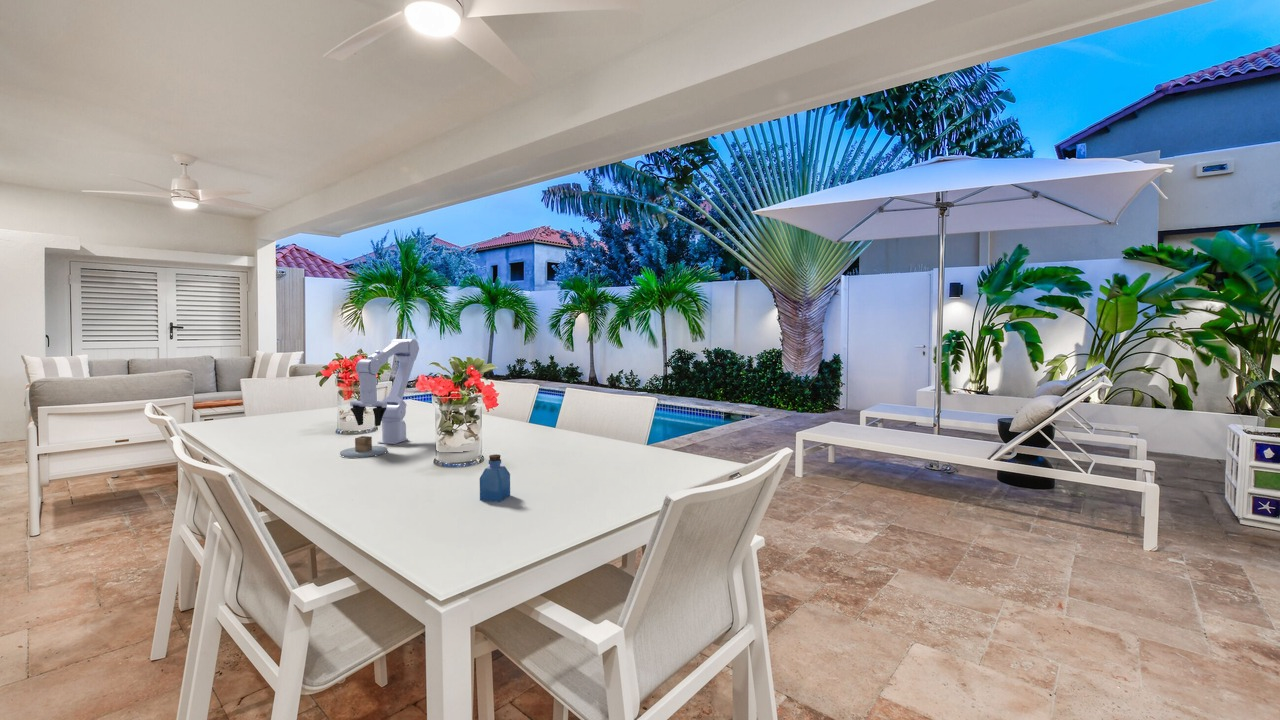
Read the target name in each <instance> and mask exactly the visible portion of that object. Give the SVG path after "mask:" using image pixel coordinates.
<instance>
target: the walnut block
mask: <svg viewBox="0 0 1280 720" xmlns="http://www.w3.org/2000/svg"><path fill="white" fill-rule="evenodd" d="M354 445H355V446H354V447H355V451H356V452H366V451H369V450H372V446H373V438H372V436H367V435H366V436H364V435H362V436H358V437H355V438H354Z"/></svg>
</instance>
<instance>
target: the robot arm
mask: <svg viewBox="0 0 1280 720" xmlns="http://www.w3.org/2000/svg"><path fill="white" fill-rule="evenodd" d="M419 350H420V347H419V342H418V341H417V339H416V338H409V339H407V338H406V339H402V338H401V339H400V338H394V339H392V340H391V341H390V343H389V345H388V346H386V347H385V348H384V349H383V350H378V349H377V350H374V353H372V354H371V355H368V356H367V357H366V358H365V359H363V358H362V359H360V360H358V361H357V363H356V366H355V371H356V373H357V378H358V379H359V399H360V400H352V401H350V402H349V403H350V405H349V406H350V410H351V412H352V414H353V416H354V417H355V421H356V423H357V426H363V425H364V414H365V413H364V412H365V408H372V412H373V416H374V424H375V427H380V426H381V431H382V435H381V436H382V437H381V439H382V440H380V441H377V444H384V445H385V444H388V445H391V444H393V445H396V444H399V443H401V442H405V441H407V440H409V438H407V425H406V422H405V420H403V419H404V418H405V416H406V413H407V410H406V409H407V403H406V402H405V401H404V399H403V398H404V394H405V392H406V389H407V385H408V382H409V379H410V376H411V372H412V370H413V368H414V364H415V361H416V359H417V356H418V354H419ZM392 356H394V358H395V359H396V361H398V362H399V365H398V368H397V370H396V374H395V377H394V379H393V382H392V385H391V389H390V392H389V395H388V396H386V397H385V398H383V399H382V400H381V401H379V400H377V393H378V392H377V374H378V373H379V372H380V369H381V367H382V366H384V365H386V364H387V363H388V362H389V358H391V357H392Z"/></svg>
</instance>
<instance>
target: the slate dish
mask: <svg viewBox="0 0 1280 720" xmlns="http://www.w3.org/2000/svg"><path fill="white" fill-rule="evenodd" d="M385 452H386V453H388V447H386V446H383V445H382V446H381V445H372V450H369V451H366V452H356V451H355V446H354V447H350V448H346V449H343V450H341V451H340V452H339V456H340V455H341V456H344V457H366V458H369V457H368V456H373V457H376V456H375V455H378V456H381V455H380V454H382V455H384V454H383V453H385ZM386 453H385V454H386ZM341 456H340V457H341ZM344 457H343V458H344Z"/></svg>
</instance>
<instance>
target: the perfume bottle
mask: <svg viewBox="0 0 1280 720" xmlns="http://www.w3.org/2000/svg"><path fill="white" fill-rule="evenodd" d="M488 457H489V459H488V465H489V466H488V467H485V469H484V470H483V472H482V474H481V475H480V476H479V477H480V478H479V501H481V500H483V501H484V502H495V501H497V502H499V503H501V502H503V501H504V500H505V498H506V499H507V498H509V497H510V496H511V473H510V472H509V470H508V469H507V467H506V466H505V465H501V464H502V459H501V454H496V453H495V454H490V455H489V456H488ZM497 502H496V503H497Z"/></svg>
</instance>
